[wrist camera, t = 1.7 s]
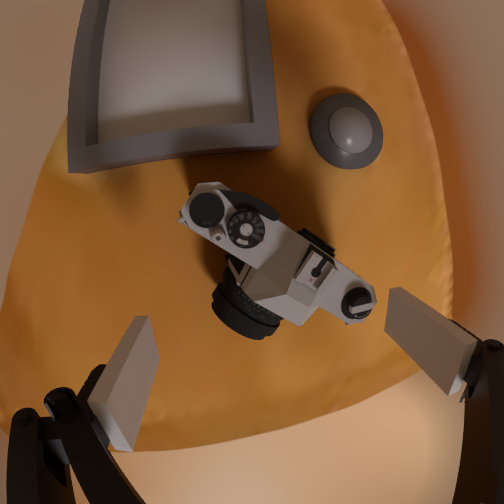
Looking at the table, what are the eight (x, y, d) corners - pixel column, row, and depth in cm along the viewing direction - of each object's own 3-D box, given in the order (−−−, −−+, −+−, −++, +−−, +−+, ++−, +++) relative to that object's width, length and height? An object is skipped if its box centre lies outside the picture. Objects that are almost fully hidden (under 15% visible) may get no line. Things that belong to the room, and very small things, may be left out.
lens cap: (311, 169, 20) (317, 168, 19) (304, 95, 19) (310, 89, 17) (378, 170, 21) (387, 169, 19) (371, 101, 19) (380, 97, 18)
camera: (153, 261, 20) (126, 322, 12) (203, 168, 19) (204, 167, 11) (292, 326, 24) (332, 396, 16) (342, 252, 23) (408, 296, 14)
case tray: (87, 173, 18) (68, 172, 15) (102, -11, 13) (92, -27, 10) (271, 150, 19) (280, 145, 16) (252, -33, 15) (256, -52, 12)
